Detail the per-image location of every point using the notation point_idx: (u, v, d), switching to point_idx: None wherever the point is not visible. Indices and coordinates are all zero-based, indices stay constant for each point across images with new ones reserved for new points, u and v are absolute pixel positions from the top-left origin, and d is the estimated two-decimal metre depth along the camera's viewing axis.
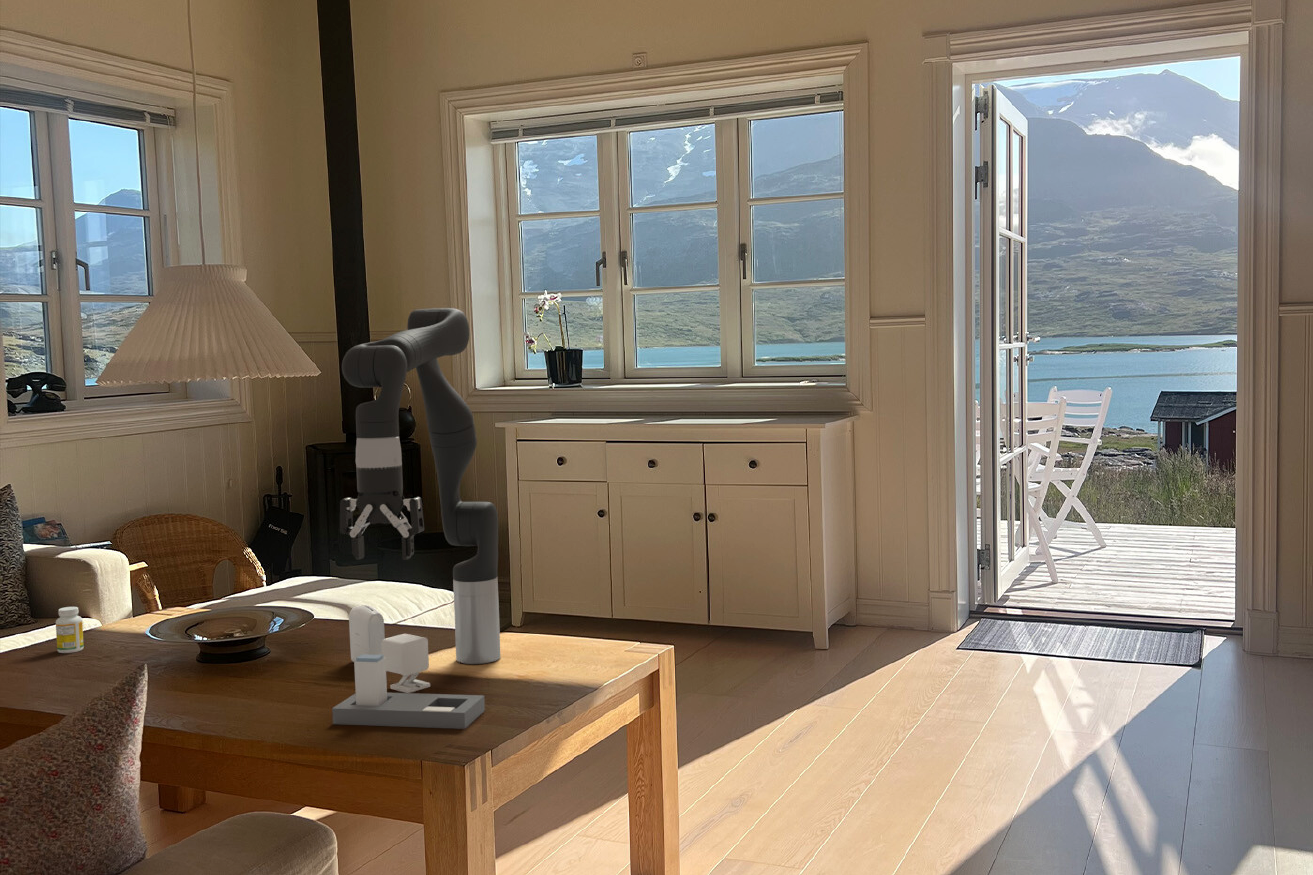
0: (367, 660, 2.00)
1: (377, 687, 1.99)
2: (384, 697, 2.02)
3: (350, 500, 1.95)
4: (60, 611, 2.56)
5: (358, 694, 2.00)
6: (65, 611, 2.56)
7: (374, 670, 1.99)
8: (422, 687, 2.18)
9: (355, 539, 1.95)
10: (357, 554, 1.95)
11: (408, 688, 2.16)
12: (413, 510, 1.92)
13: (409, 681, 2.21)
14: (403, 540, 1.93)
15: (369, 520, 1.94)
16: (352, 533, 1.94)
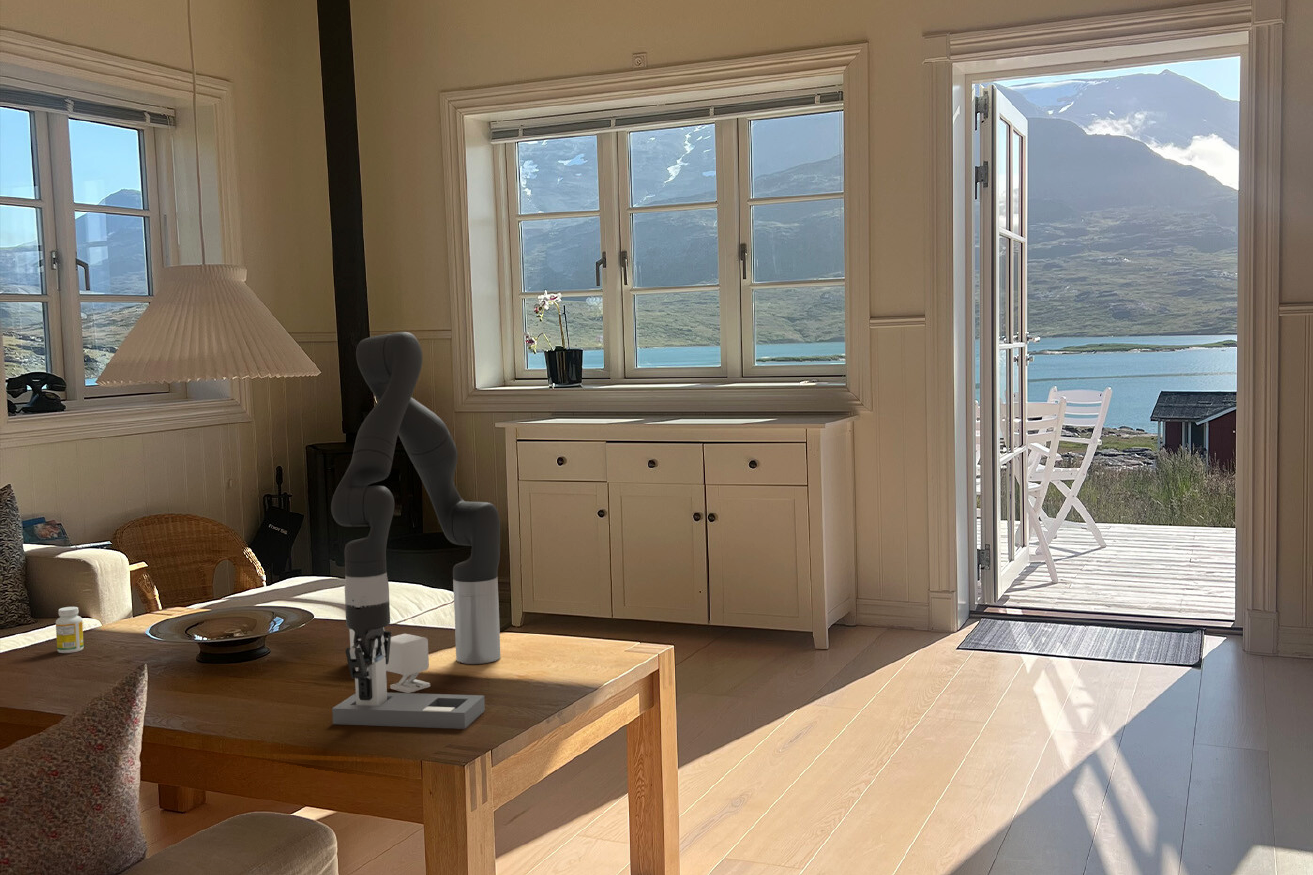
0: (367, 660, 2.00)
1: (377, 687, 1.99)
2: (384, 697, 2.02)
3: (358, 646, 1.96)
4: (60, 611, 2.56)
5: (358, 694, 2.00)
6: (65, 611, 2.56)
7: (374, 670, 1.99)
8: (422, 687, 2.18)
9: (370, 680, 1.99)
10: (371, 694, 1.99)
11: (408, 688, 2.16)
12: (389, 642, 2.06)
13: (409, 681, 2.21)
14: None
15: None
16: (370, 675, 1.98)
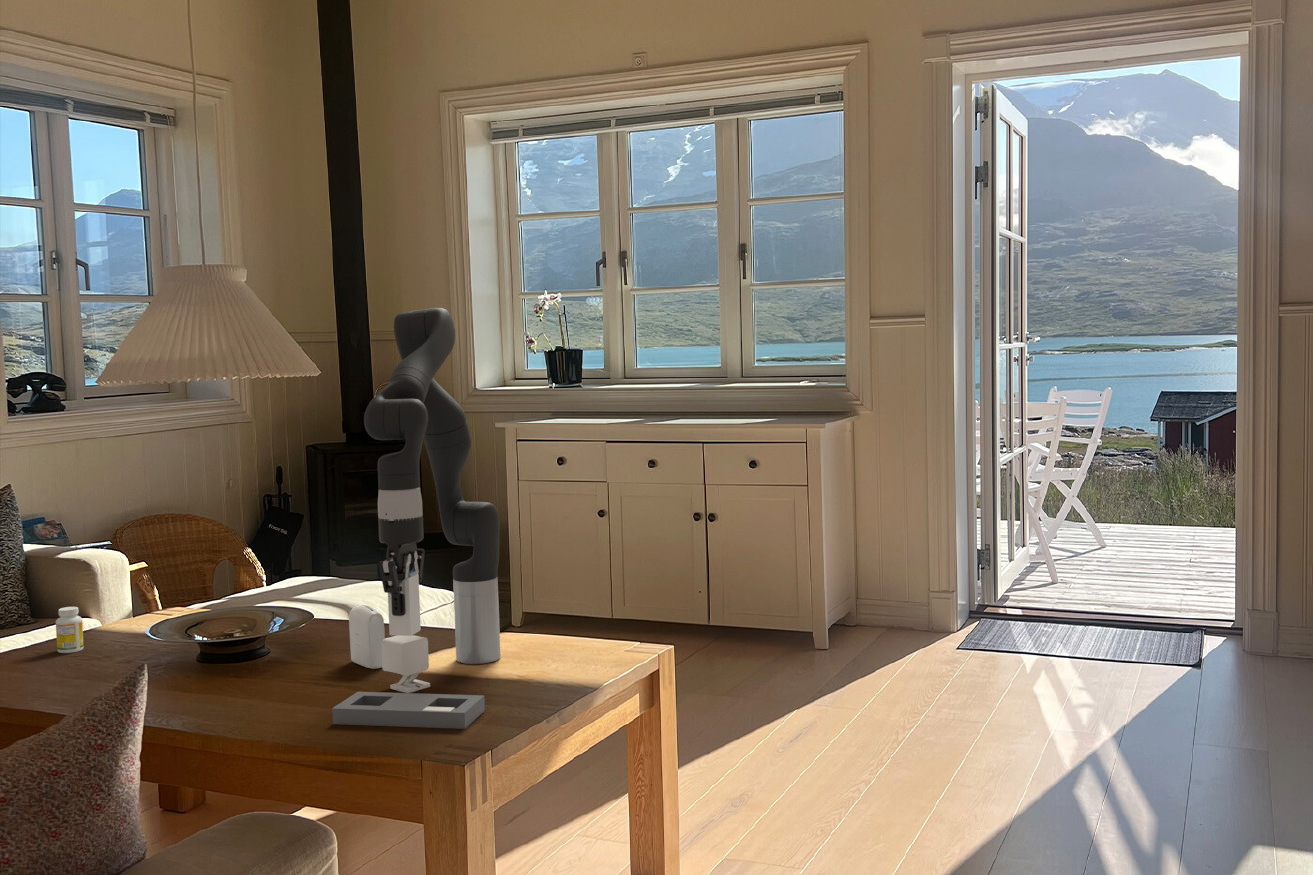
0: None
1: (410, 603, 1.97)
2: (417, 614, 2.00)
3: (391, 560, 1.93)
4: (60, 611, 2.56)
5: (391, 609, 1.98)
6: (65, 611, 2.56)
7: (407, 585, 1.97)
8: (422, 687, 2.18)
9: (403, 595, 1.96)
10: None
11: (408, 688, 2.16)
12: (422, 560, 2.04)
13: (409, 681, 2.21)
14: None
15: None
16: (403, 590, 1.96)
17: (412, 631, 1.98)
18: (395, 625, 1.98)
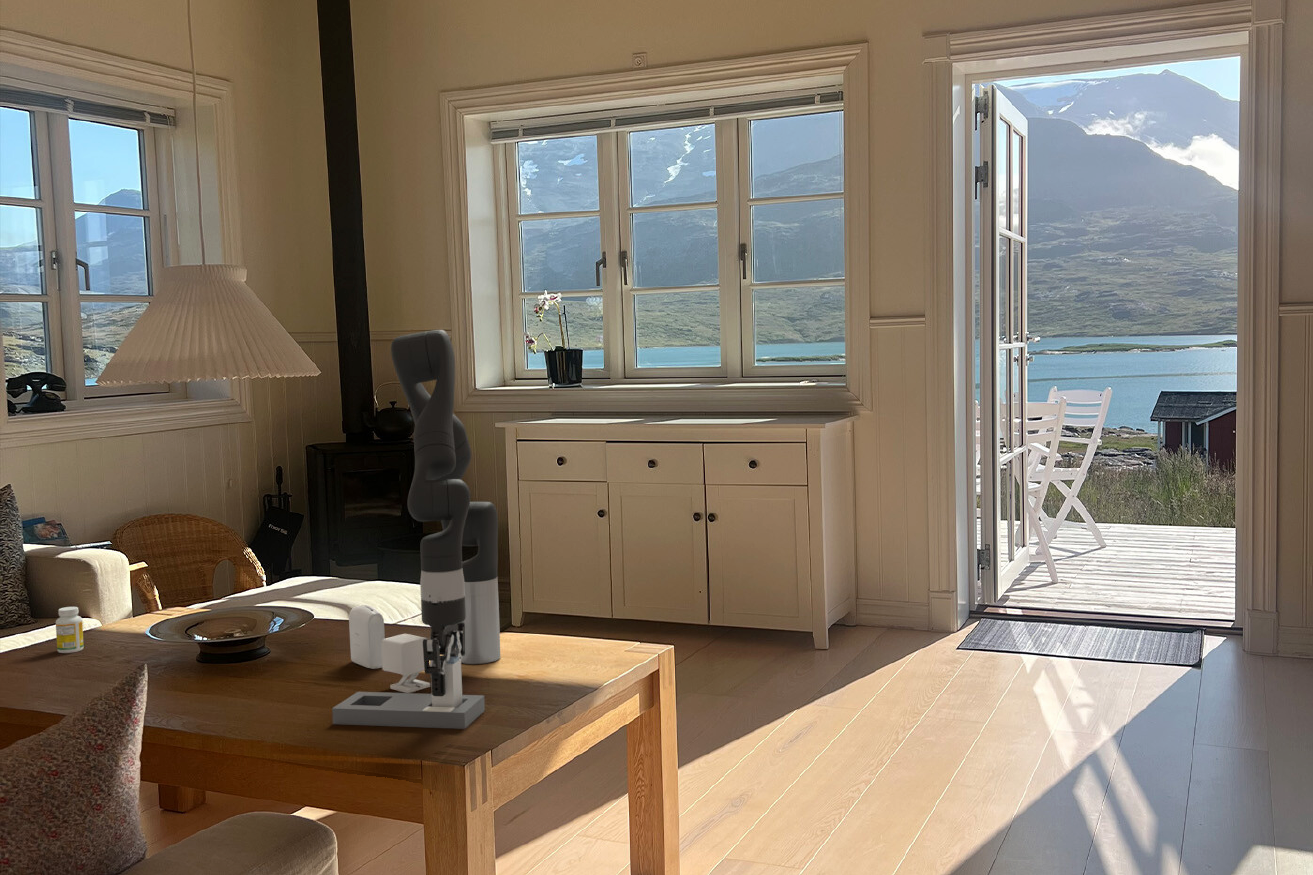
0: None
1: (454, 689, 1.97)
2: (460, 699, 2.00)
3: (435, 639, 1.93)
4: (60, 611, 2.56)
5: (434, 696, 1.97)
6: (65, 611, 2.56)
7: (451, 672, 1.96)
8: (422, 687, 2.18)
9: (443, 676, 1.95)
10: (445, 690, 1.95)
11: (408, 688, 2.16)
12: (463, 633, 2.04)
13: (409, 681, 2.21)
14: None
15: None
16: (443, 670, 1.94)
17: None
18: None
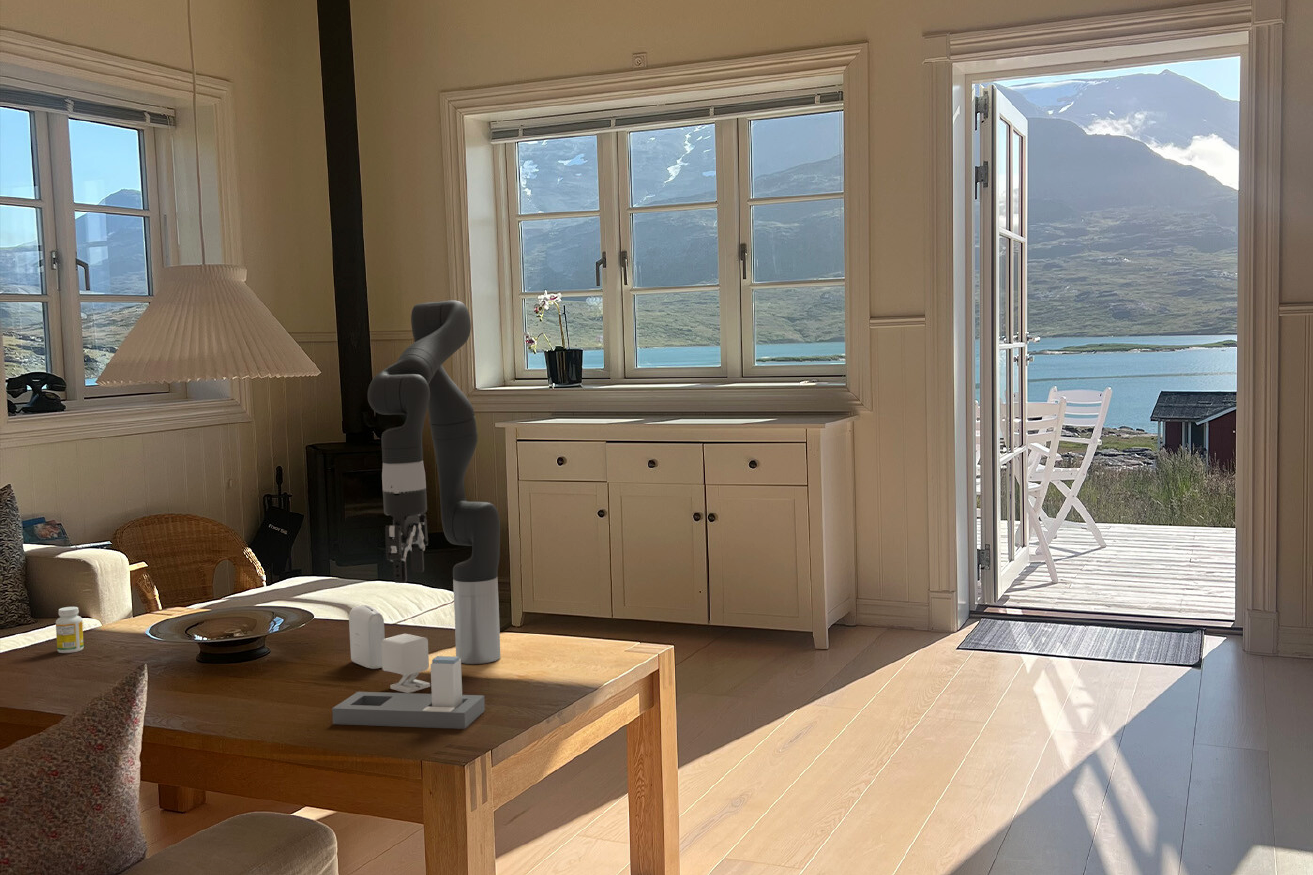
0: (443, 662, 1.97)
1: (454, 689, 1.97)
2: (460, 699, 2.00)
3: None
4: (60, 611, 2.56)
5: (434, 696, 1.97)
6: (65, 611, 2.56)
7: (451, 672, 1.96)
8: (422, 687, 2.18)
9: (405, 562, 2.00)
10: (406, 577, 2.00)
11: (408, 688, 2.16)
12: (425, 524, 2.10)
13: (409, 681, 2.21)
14: (422, 554, 2.08)
15: None
16: (405, 557, 1.99)
17: None
18: None
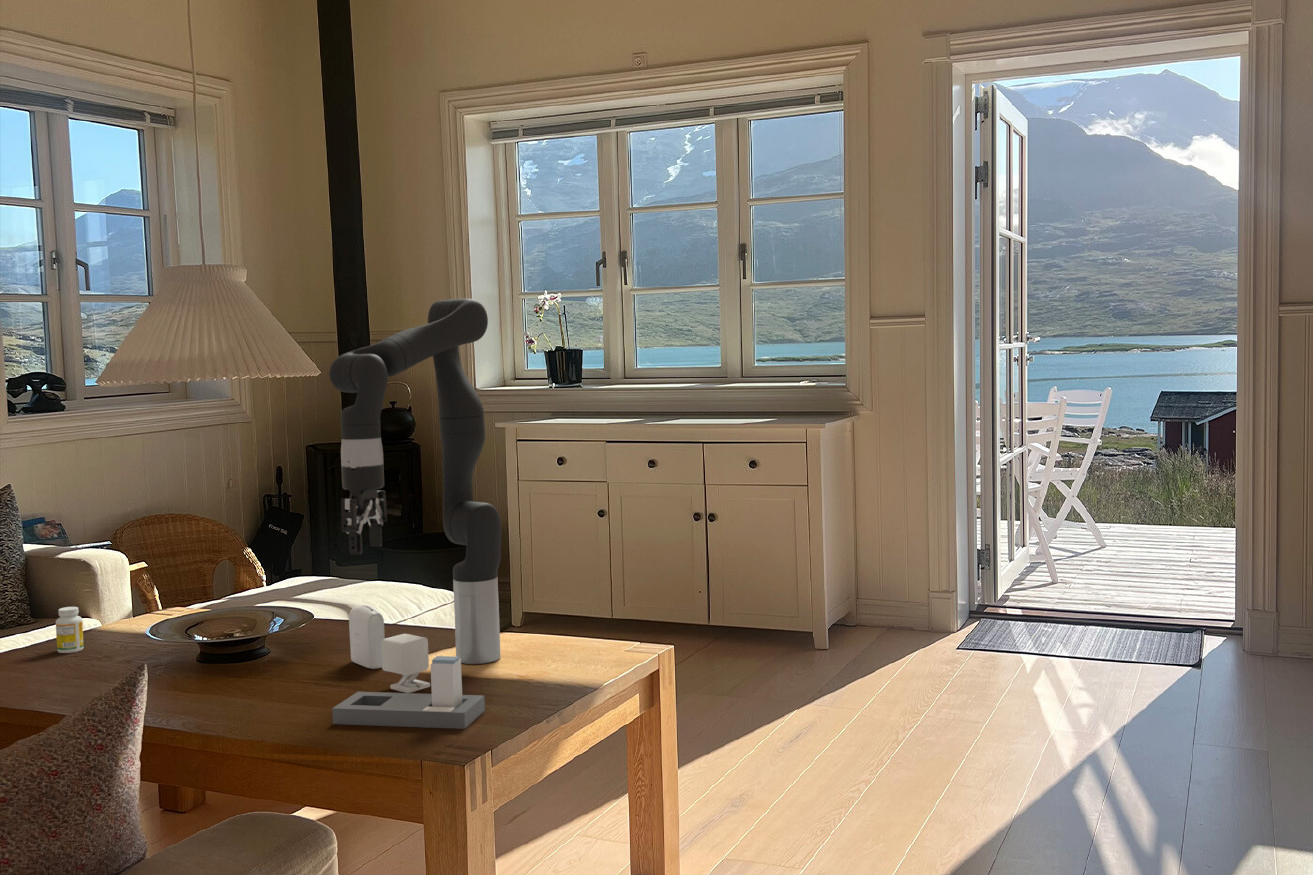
0: (443, 662, 1.97)
1: (454, 689, 1.97)
2: (460, 699, 2.00)
3: None
4: (60, 611, 2.56)
5: (434, 696, 1.97)
6: (65, 611, 2.56)
7: (451, 672, 1.96)
8: (422, 687, 2.18)
9: (360, 535, 2.07)
10: (361, 549, 2.07)
11: (408, 688, 2.16)
12: (384, 500, 2.17)
13: (409, 681, 2.21)
14: (380, 529, 2.15)
15: None
16: (360, 529, 2.06)
17: None
18: None
